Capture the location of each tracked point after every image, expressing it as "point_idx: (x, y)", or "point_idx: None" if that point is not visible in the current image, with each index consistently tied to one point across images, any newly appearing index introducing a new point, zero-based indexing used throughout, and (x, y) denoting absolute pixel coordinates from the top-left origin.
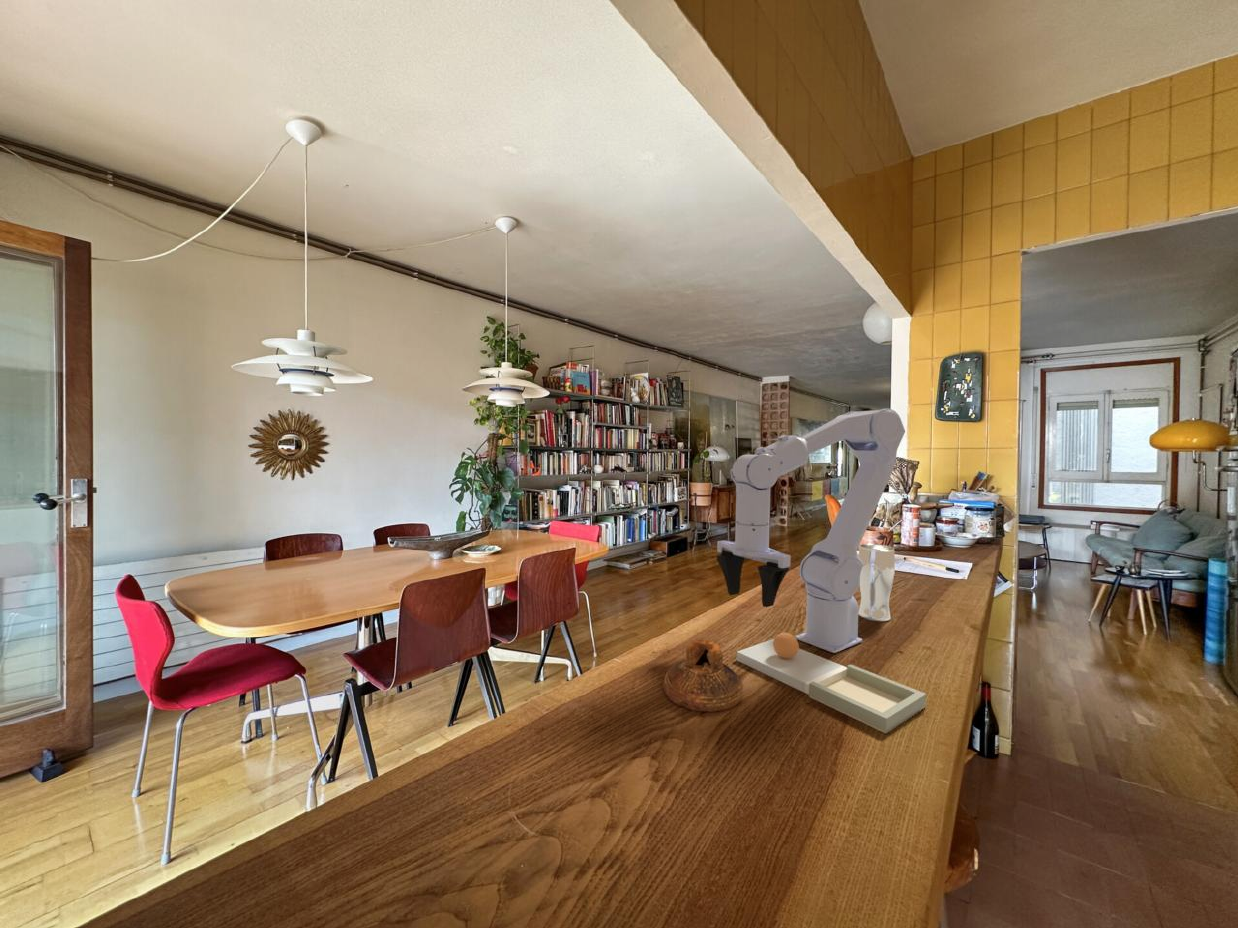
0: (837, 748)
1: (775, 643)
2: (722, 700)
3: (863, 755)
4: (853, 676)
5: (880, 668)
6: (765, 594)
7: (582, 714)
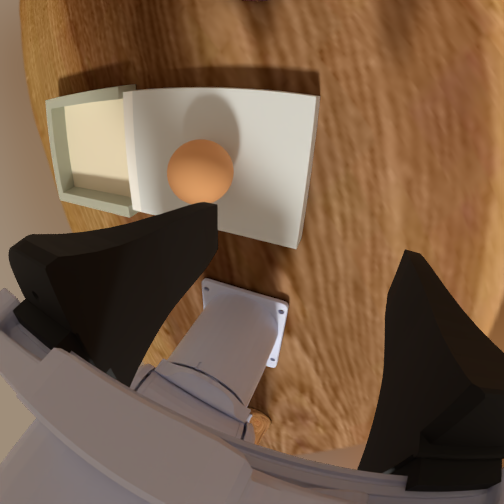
0: (71, 22)
1: (207, 146)
2: None
3: (57, 39)
4: (129, 199)
5: None
6: (163, 214)
7: None
